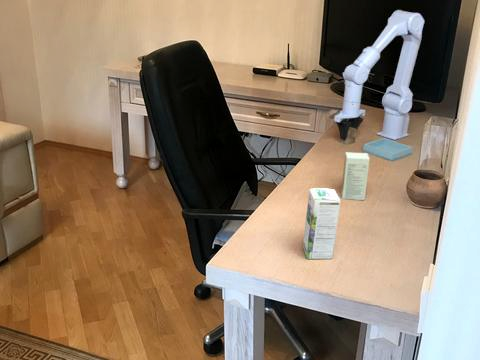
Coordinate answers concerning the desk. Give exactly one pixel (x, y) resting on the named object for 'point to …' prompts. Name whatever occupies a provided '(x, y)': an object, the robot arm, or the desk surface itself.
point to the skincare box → (355, 176)
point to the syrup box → (321, 223)
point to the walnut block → (349, 136)
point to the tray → (388, 149)
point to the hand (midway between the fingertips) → (347, 138)
